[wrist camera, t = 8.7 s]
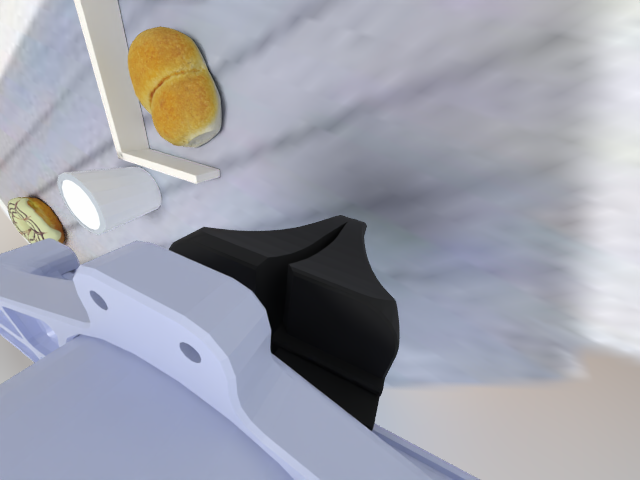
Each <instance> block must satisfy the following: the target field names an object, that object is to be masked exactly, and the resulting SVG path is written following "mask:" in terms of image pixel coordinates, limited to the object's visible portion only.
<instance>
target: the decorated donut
mask: <svg viewBox="0 0 640 480" xmlns="http://www.w3.org/2000/svg"><path fill="white" fill-rule="evenodd" d="M8 212H9V215H10V218H11V220H12V222H13V224H14V225H15V227H16V228H17V230H18V231H19V233H20V234H22V235H23V236H24V237H25V238H26V239H27V240H28V241H29V242H30V243H31V244H32V243H35V242H38V241H41V240H44V239H47V238H51V239H54V240H56V241H58V242H60V243H63V242H64V240H65V237H64V236H65V235H64V233H63V228H62V224H61V223H60V222H59V220H58V218H57V216H56V215H55V214H54V213H53V211H52V210H51V208H50V207H49V206H47V205H46V204H45V203H43V202H42V201H40V200H39V199H37V198H31V197H22V198H21V197H18V198H14V199H11V200H10V201H9V202H8Z"/></svg>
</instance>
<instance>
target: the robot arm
mask: <svg viewBox="0 0 640 480" xmlns="http://www.w3.org/2000/svg"><path fill="white" fill-rule="evenodd" d="M366 227H367V225H366V223H365V222H361V221H358V220H355V219H352V218H348V217H345V216H342V215H339V216H335V217H332V218H329V219H326V220H322V221H319V222H316V223H312V224H308V225H304V226H300V227H296V228H290V229H283V230H271V231H236V230H225V229H216V228H208V227H203V228H201V229H199V230H197V231H195V232H193V233H191V234H189V235H187V236H185V237H183V238H181V239H179V240H177V241H176V242H174V243H173V244H172V245H171V247H170V248H169V250H168V249H165V248H163V247H161V246H158V245H156V244H153V243H150V242H142V241H135V242H132V243H130V244H128V245H125V246H123V247H121V248H118V249H116V250H114V251H111V252H109V253H107V254H104V255H102V256H100V257H98V258H95V259H93V260H91V261H88V262H86V263H84V264H81V265H80V263H79V260H78V258H77V256H76V254H75V253H74V252H73V250H72V249H71V248H69V247H68V246H66V245H64V244H62V243H60V242H58V241H56V240H54V239H51V238H47V239H44V240H41V241H38V242H35V243H32V244H29V245H26V246H23V247H20V248H17V249H14V250H11V251H8V252H5V253H2V254H0V335H1V336H2V337H4V338H5V339H6V340H8V341H9V342H10V343H11V344H13V345H14V346H15V347H16V348H17V349H19V350H20V351H21V352H22V353H24V354H25V355H26V356H27V357H28V358H30V359H31V360H32V361H33V362H34V364H32V365H31V366H29V367H27V368H26V369H24V370H23V371H21V372H19V373H18V374H16V375H15V376H13V377H11V378H10V379H8V380H7V381H5V382H4V383H2V384H0V480H480V479H478V478H476V477H474V476H472V475H470V474H468V473H467V472H465V471H463V470H461V469H459V468H457V467H455V466H453V465H452V464H450V463H448V462H446V461H444V460H442V459H440V458H438V457H436V456H435V455H433V454H431V453H429V452H427V451H425V450H424V449H422V448H420V447H418V446H416V445H414V444H412V443H410V442H408V441H407V440H405V439H403V438H401V437H399V436H397V435H395V434H393V433H392V432H390V431H388V430H386V429H384V428H382V427H380V426H378V425H377V424H375V423H374V422H375V417H376V412H377V406H378V401H379V397H380V396H381V394H382V391H383V386H384V380H385V377H386V375H387V373H388V371H389V369H390V367H391V365H392V363H393V361H394V359H395V357H396V355H397V352H398V348H399V318H398V310H397V304H396V301H395V299H394V298H393V297H392V296H391V295H390V294H389V293H388V292H387V291H386V290H385V289H384V288H383V286H382V285H381V284H380V282H379V281H378V280H377V278H376V276H375V274H374V273H373V271H372V269H371V266H370V264H369V261H368V258H367V254H366V250H365V244H364V234H365V231H366Z"/></svg>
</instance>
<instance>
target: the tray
mask: <svg viewBox="0 0 640 480" xmlns="http://www.w3.org/2000/svg"><path fill="white" fill-rule="evenodd" d="M74 2H75V6H76V9H77V13H78V16H79V20H80V24H81V27H82V31H83V34H84V38H85V41H86V45H87V48H88V52H89V55H90V59H91V63H92V66H93V70H94V73H95V77H96V80H97V84H98V87H99V91H100V94H101V98H102V102H103V105H104V109H105V112H106V116H107V119H108V123H109V126H110V130H111V133H112V137H113V141H114V144H115V148H116V151H117V155H118V158H119V159H122V160H125V161H128V162H131V163H134V164H137V165H140V166H143V167H147V168H150V169H153V170H156V171H159V172H162V173H165V174H168V175H171V176H174V177H177V178H180V179H183V180H186V181H189V182H192V183H195V184H199V183H202V182H205V181H209V180H212V179H215V178H219V177H220V170H219V169H216V168H213V167H209V166H206V165H203V164H199V163H196V162H193V161H189V160H186V159H183V158H179V157H176V156H172V155H169V154H166V153H162V152H159V151H156V150H152V149H149V145H148V140H147V135H146V131H145V126H144V121H143V117H142V112H141V107H140V103H139V99H138V97H137V96H136V94H135V91H134V88H133V84H132V81H131V78H130V74H129V69H128V53H129V51H128V46H127V42H126V37H125V32H124V28H123V23H122V18H121V13H120V9H119V4H118V0H74Z"/></svg>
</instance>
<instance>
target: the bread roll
mask: <svg viewBox="0 0 640 480" xmlns="http://www.w3.org/2000/svg"><path fill="white" fill-rule="evenodd" d="M128 69H129V74H130V78H131V81H132V84H133V88H134V91H135V94H136V96H137V97H138V99H139V101H140V102H141V104H142V105H143V106H144V107H145V108H146V110H147V111H148V112H149V113H150V114H151V115H152V119H153V123H154V126H155V128H156V130H157V131H158V133H159V134H160V136H161V137H163V138H164V139H165V140H167V141H168V142H170V143H172V144H173V145H176V146H183V147H194V148H196V147H198V146H201V145H202V144H204V143H206V142H208V141H210V140H211V139H212V138H213V137H214V136H215V135H216V134H218V132H219V131H220V128H221V120H222V117H221V99H220V95H219V92H218V90H217V87H216V85H215V82H214V80H213V79H212V76H211V74H210V73H209V71H208V69H207V66H206V63H205V61H204V58H203V56H202V55H201V53H200V51H199V49H198V47H197V46H196V44H195V43H194V41H193V40H192V39H191V38H190V37H188V36H186V35H185V34H183V33H181V32H179V31H177V30H174V29H170V28H166V27H157V28H152V29H148V30H146V31H143V32H142V33H140V34H139V35H138V36H137V37H136V38H135V40H134V41H133V42H132V44H131V46H130V49H129V53H128Z"/></svg>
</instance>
